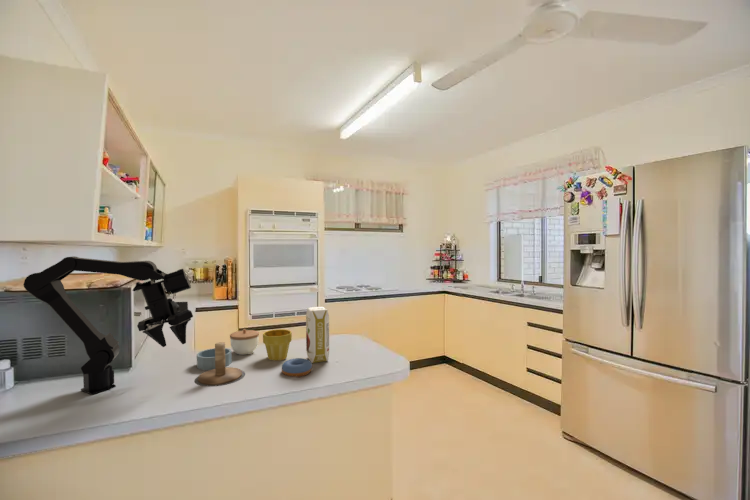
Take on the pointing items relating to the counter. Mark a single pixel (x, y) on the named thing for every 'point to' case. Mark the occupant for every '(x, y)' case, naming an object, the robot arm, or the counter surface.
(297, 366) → the doughnut
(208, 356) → the ceramic bowl
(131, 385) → the counter surface
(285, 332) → the plant pot
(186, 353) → the counter surface
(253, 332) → the lidded jar
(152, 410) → the counter surface
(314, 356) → the juice carton
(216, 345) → the walnut lid
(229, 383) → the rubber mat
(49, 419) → the counter surface
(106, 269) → the robot arm
